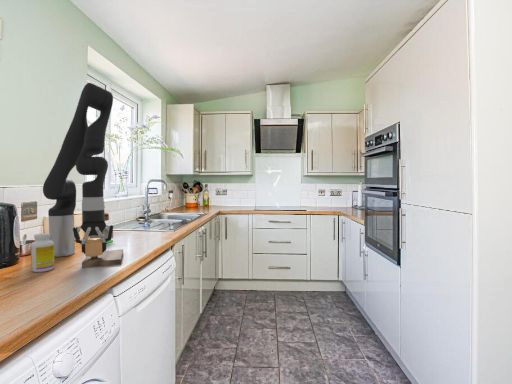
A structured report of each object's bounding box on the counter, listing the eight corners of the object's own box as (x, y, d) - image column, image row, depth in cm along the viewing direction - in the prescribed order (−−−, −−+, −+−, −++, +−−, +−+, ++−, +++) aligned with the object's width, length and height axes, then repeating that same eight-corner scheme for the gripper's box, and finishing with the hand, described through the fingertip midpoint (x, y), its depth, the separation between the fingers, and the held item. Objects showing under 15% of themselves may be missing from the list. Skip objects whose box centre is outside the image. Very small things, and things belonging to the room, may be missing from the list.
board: (81, 268, 108) (81, 262, 108) (89, 256, 124) (89, 252, 124) (121, 264, 112) (121, 259, 112) (123, 253, 129) (123, 249, 129)
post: (90, 259, 112) (90, 247, 112) (91, 258, 114) (91, 245, 114) (97, 258, 113) (97, 246, 113) (98, 257, 115) (98, 245, 115)
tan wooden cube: (84, 257, 110) (84, 241, 110) (87, 253, 115) (86, 238, 115) (101, 255, 112) (101, 240, 112) (103, 252, 117) (103, 237, 117)
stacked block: (84, 242, 154) (83, 214, 153) (109, 239, 162) (109, 212, 162) (90, 246, 145) (89, 215, 145) (117, 242, 154) (116, 213, 153)
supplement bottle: (59, 268, 108) (58, 233, 107) (40, 273, 102) (39, 236, 101) (45, 266, 110) (45, 232, 110) (27, 271, 104) (26, 235, 103)
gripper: (69, 210, 107) (70, 256, 107) (113, 209, 112) (114, 253, 113) (73, 208, 114) (74, 252, 114) (114, 207, 119) (115, 249, 120)
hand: (94, 252), depth 113 cm, fingers closed on tan wooden cube, 5 cm apart
